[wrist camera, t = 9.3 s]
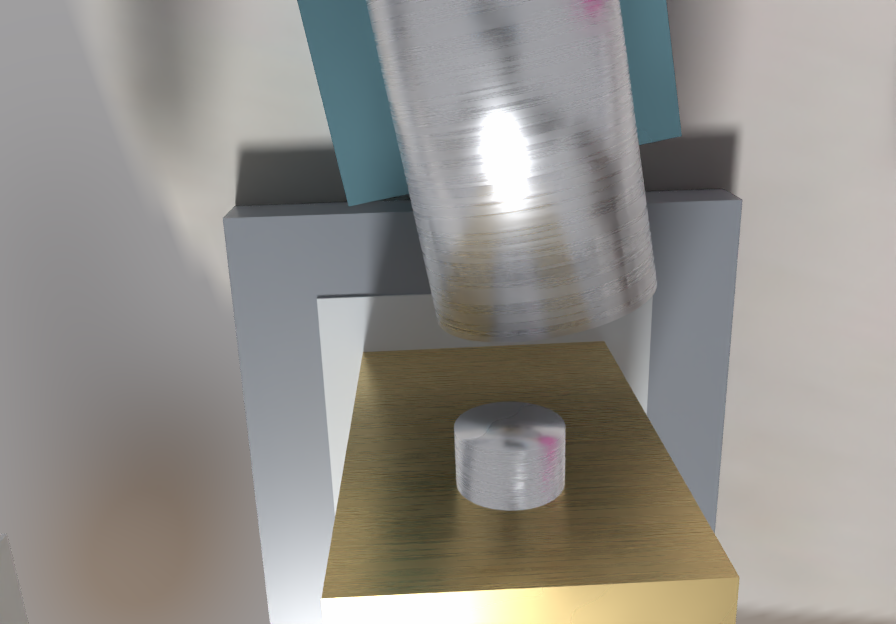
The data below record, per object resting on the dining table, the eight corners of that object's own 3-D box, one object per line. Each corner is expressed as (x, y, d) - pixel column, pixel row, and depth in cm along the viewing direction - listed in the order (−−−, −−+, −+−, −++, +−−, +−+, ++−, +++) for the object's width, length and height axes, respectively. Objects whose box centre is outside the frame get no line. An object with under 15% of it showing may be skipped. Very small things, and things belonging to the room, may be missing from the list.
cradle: (234, 206, 16) (222, 219, 15) (723, 188, 16) (743, 200, 15) (280, 615, 19) (272, 648, 18) (692, 596, 19) (707, 628, 18)
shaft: (287, -135, 14) (197, -241, 8) (591, -205, 14) (711, -360, 8) (380, 250, 16) (358, 378, 10) (644, 195, 16) (769, 294, 10)
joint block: (359, 310, 15) (314, 533, 9) (605, 299, 15) (744, 511, 9) (379, 575, 17) (355, 926, 11) (599, 564, 17) (711, 906, 11)
